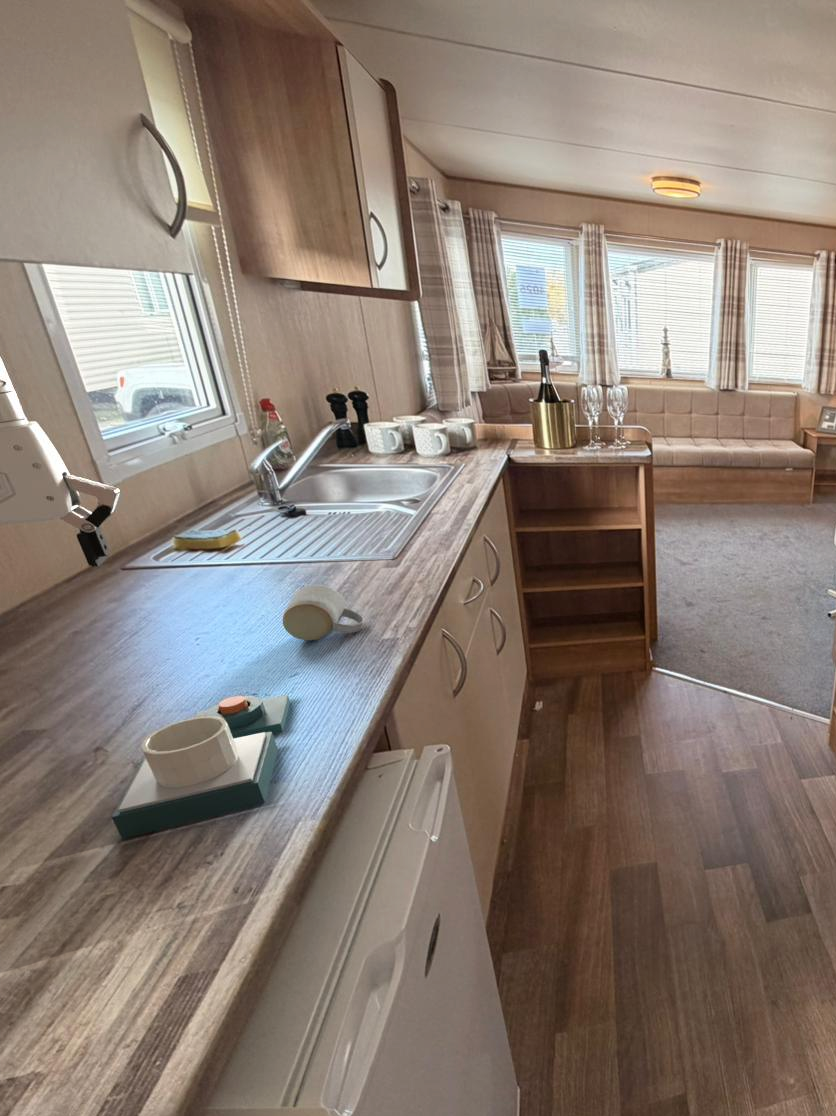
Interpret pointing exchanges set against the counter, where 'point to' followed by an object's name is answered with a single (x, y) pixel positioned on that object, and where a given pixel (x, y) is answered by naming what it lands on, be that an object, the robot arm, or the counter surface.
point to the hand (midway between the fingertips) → (39, 568)
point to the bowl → (190, 751)
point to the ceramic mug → (318, 613)
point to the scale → (198, 791)
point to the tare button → (232, 705)
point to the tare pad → (254, 716)
